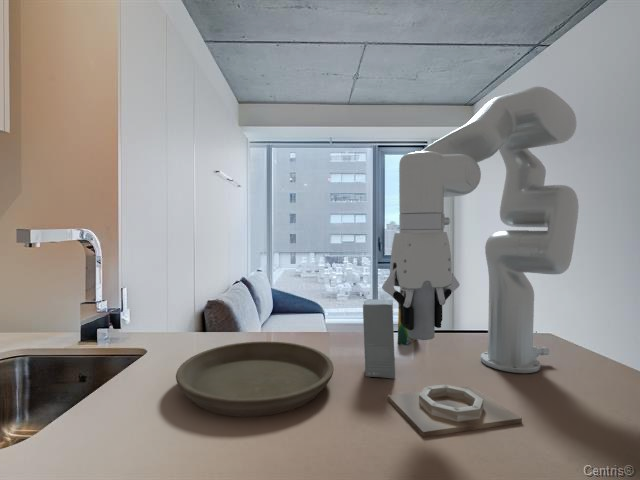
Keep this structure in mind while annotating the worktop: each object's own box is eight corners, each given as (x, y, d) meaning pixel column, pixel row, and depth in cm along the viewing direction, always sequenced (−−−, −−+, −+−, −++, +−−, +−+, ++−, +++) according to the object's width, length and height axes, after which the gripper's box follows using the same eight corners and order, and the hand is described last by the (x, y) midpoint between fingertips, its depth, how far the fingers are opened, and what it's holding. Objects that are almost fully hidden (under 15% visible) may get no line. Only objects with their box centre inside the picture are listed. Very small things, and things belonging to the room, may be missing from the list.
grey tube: (405, 333, 69) (404, 277, 68) (429, 332, 69) (429, 276, 69) (412, 340, 64) (412, 281, 64) (438, 340, 65) (438, 280, 64)
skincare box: (395, 379, 79) (395, 305, 79) (361, 377, 81) (361, 303, 80) (395, 365, 87) (396, 298, 87) (364, 363, 89) (365, 296, 88)
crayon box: (407, 345, 103) (407, 303, 103) (397, 343, 105) (397, 302, 104) (418, 339, 109) (418, 299, 108) (408, 337, 110) (409, 298, 110)
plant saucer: (342, 422, 62) (342, 395, 62) (150, 428, 60) (149, 400, 60) (326, 358, 93) (326, 339, 93) (199, 360, 91) (199, 341, 91)
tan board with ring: (471, 390, 74) (471, 378, 74) (521, 422, 62) (522, 408, 62) (387, 399, 70) (387, 386, 70) (423, 437, 57) (423, 421, 57)
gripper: (452, 223, 71) (452, 318, 72) (368, 224, 68) (369, 324, 69) (477, 223, 64) (476, 329, 65) (384, 225, 60) (384, 337, 61)
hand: (421, 325), depth 67 cm, fingers closed on grey tube, 4 cm apart
